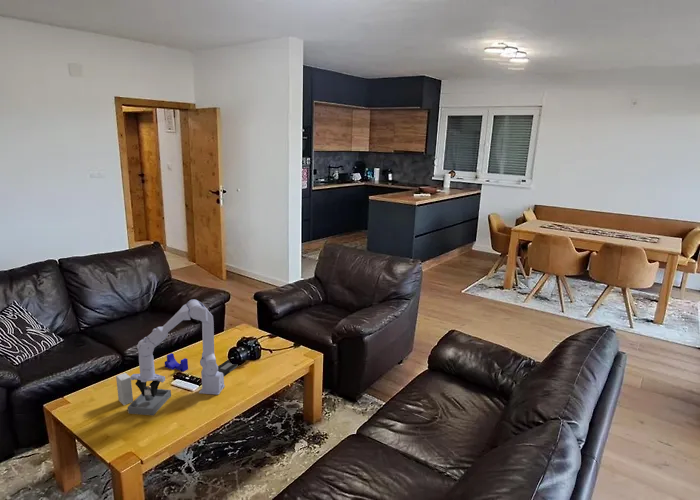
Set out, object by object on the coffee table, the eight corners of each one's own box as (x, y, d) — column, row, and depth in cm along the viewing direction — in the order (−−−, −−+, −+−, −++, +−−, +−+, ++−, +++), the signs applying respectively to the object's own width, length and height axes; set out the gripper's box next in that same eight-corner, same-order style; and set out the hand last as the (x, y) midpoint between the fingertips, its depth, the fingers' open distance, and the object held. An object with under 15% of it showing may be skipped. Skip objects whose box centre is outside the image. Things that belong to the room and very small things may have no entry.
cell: (156, 396, 197) (155, 384, 195) (151, 401, 193) (150, 389, 191) (147, 395, 197) (146, 384, 196) (142, 400, 193) (141, 388, 192)
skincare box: (133, 401, 197) (131, 377, 194) (123, 405, 194) (120, 380, 191) (128, 396, 201) (125, 372, 198) (118, 400, 198) (115, 375, 195)
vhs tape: (241, 365, 233) (241, 361, 233) (223, 377, 220) (223, 373, 220) (230, 362, 236) (229, 358, 235) (211, 374, 223) (211, 370, 223)
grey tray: (171, 395, 202) (170, 389, 202) (153, 415, 188) (152, 409, 187) (147, 394, 203) (147, 388, 203) (128, 413, 189) (127, 407, 188)
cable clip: (164, 367, 228) (164, 356, 227) (172, 363, 232) (171, 353, 231) (180, 373, 223) (180, 362, 221) (188, 369, 226) (187, 358, 225)
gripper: (125, 370, 188) (128, 399, 191) (158, 372, 187) (160, 401, 190) (135, 362, 195) (137, 390, 198) (166, 364, 194) (168, 392, 197)
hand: (149, 395), depth 195 cm, fingers closed on cell, 4 cm apart
